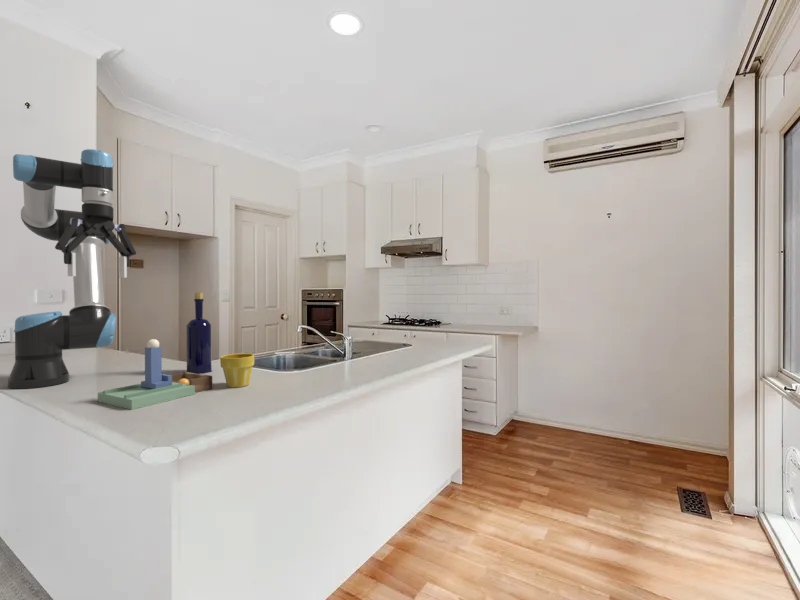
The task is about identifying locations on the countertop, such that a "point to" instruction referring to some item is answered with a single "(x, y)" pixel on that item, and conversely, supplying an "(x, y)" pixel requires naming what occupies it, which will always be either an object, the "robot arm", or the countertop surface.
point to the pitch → (144, 395)
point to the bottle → (199, 341)
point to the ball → (184, 381)
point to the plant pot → (237, 368)
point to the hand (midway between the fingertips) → (98, 277)
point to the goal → (195, 380)
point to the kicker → (154, 367)
